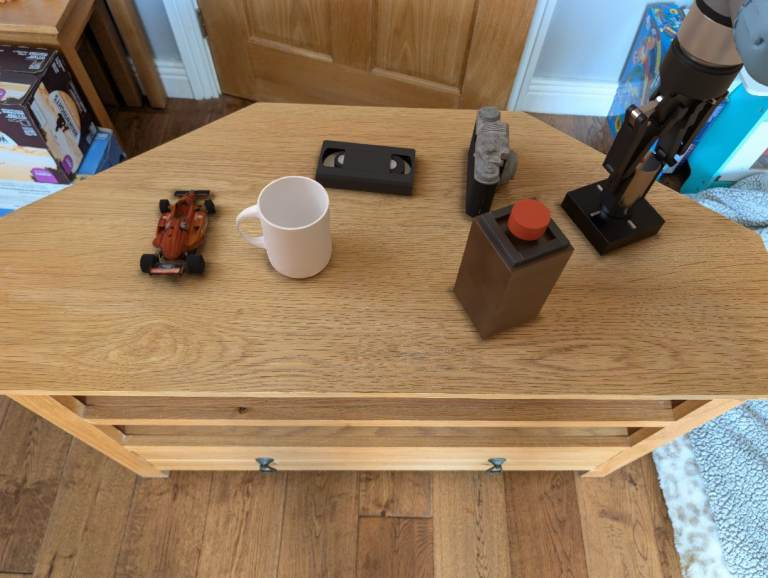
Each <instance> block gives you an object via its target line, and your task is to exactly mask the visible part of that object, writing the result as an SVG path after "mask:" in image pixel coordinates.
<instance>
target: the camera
mask: <svg viewBox="0 0 768 578" xmlns="http://www.w3.org/2000/svg"><path fill="white" fill-rule="evenodd" d="M501 114H502V113H501V111H500V110H499V109H498V107H496V106H494V105H485V106H482V107H480V108H478V109H477V112H476V118H475V122H474V127H473V130H472V135H471V139H470V143H469V148H468V150H467V162H466V163H467V165H466V184H465V185H466V187H465V203H464V204H465V205H464V206H465V207H464V209H465V210H464V214H465V215H466V216H467V217H468V218H471V219H473V218H474V217H477V216H480V215H482V214H485V213H488V212H491V211H490V210H491V208H492V205H493V201H494V199H495V198H494V197H495V195H496V193H497V188H499V186H500V185H505V184H506V183H509V182H510V181H513V180H514V179H515V176H516V173H517V168H518V161H519V155H518V152H516V151H515V150H514V149H512V148H511V146H510V124H509V123H507V122H502V117H501V116H502V115H501Z"/></svg>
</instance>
